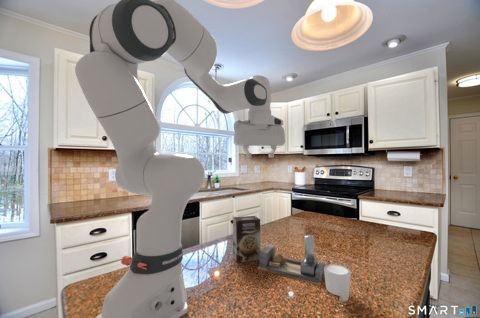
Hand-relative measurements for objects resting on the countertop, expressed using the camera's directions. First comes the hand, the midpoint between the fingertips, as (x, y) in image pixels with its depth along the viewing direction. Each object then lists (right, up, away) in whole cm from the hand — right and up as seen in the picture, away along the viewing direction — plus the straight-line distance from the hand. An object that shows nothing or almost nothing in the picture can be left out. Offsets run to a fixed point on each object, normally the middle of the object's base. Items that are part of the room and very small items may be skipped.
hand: (260, 157), depth 83 cm
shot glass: (+19, -38, -22) cm, 48 cm away
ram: (+14, -37, -13) cm, 42 cm away
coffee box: (-5, -39, -2) cm, 39 cm away
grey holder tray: (+9, -38, -10) cm, 41 cm away
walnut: (+5, -37, -8) cm, 38 cm away
